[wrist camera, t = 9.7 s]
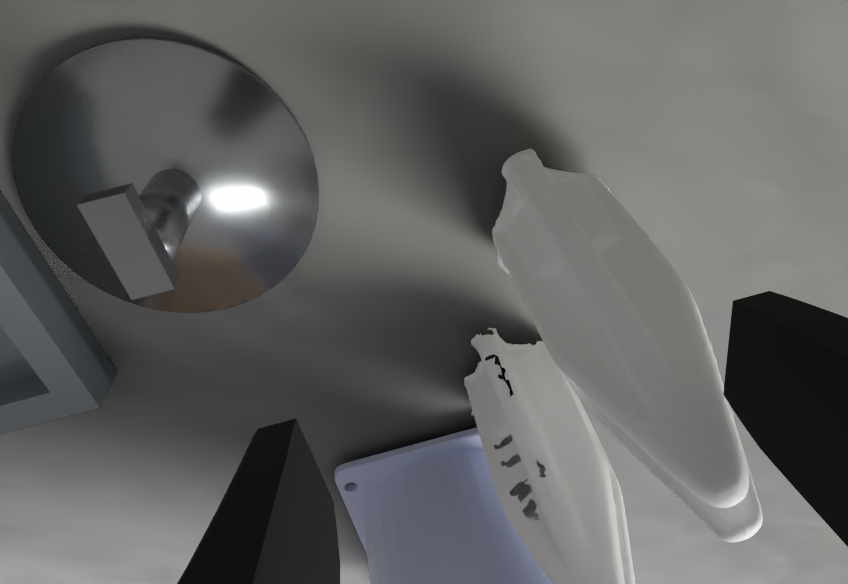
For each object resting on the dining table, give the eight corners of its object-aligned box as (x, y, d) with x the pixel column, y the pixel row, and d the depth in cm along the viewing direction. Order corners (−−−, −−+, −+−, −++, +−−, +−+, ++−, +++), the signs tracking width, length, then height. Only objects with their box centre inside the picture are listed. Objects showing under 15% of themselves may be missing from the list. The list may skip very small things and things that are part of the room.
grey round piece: (349, 270, 19) (358, 353, 15) (109, 333, 18) (53, 434, 15) (264, 3, 14) (245, 22, 11) (-48, 80, 14) (-186, 128, 10)
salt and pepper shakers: (485, 130, 17) (697, 338, 8) (616, 131, 18) (956, 324, 8) (455, 429, 23) (553, 754, 14) (553, 421, 24) (711, 725, 14)
